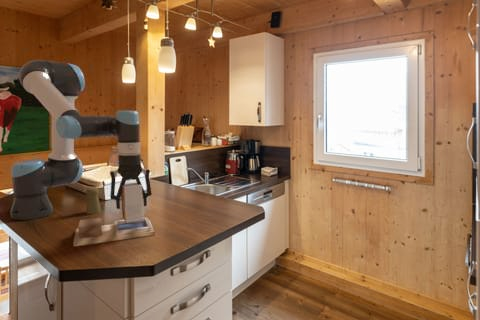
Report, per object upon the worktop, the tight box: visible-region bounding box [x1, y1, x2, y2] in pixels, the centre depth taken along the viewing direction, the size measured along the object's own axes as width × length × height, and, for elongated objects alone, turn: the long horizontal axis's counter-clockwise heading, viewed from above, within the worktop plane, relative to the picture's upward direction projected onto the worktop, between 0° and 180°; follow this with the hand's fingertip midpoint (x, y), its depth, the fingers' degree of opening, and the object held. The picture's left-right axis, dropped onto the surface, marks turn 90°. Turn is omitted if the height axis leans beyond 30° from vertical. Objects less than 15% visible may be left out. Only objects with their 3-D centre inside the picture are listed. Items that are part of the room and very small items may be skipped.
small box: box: [120, 181, 144, 223], centre depth 114 cm, size 8×6×13 cm
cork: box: [85, 186, 102, 215], centre depth 137 cm, size 6×6×11 cm
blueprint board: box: [72, 216, 156, 247], centre depth 113 cm, size 26×14×5 cm, turn 113°
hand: (132, 215), depth 115 cm, fingers closed on small box, 7 cm apart
